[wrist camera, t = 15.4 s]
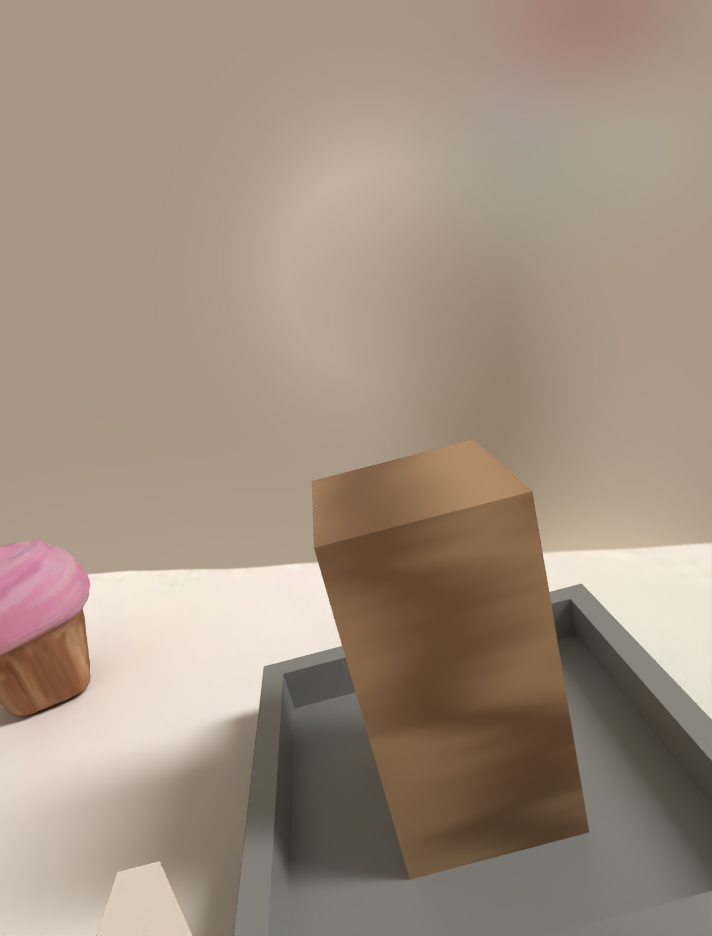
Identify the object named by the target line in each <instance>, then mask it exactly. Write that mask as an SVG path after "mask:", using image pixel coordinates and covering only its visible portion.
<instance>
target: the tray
mask: <svg viewBox="0 0 712 936" xmlns="http://www.w3.org/2000/svg"><path fill="white" fill-rule="evenodd" d="M549 594H550V600H551V606H552V612H553V618H554V624H555V630H556V636H557V642H558V648H559V654H560V660H561V666H562V672H563V678H564V684H565V689H566V695H567V701H568V707H569V713H570V719H571V725H572V731H573V737H574V743H575V749H576V755H577V761H578V767H579V773H580V779H581V785H582V791H583V797H584V803H585V808H586V814H587V820H588V826H589V833H585V834H582V835H578V836H574V837H570V838H566V839H563V840H559V841H555V842H551V843H548V844H544V845H540V846H536V847H532V848H529V849H525V850H521V851H517V852H513V853H510V854H506V855H502V856H498V857H495V858H491V859H487V860H483V861H479V862H476V863H472V864H468V865H464V866H460V867H457V868H453V869H449V870H445V871H442V872H438V873H434V874H430V875H426V876H423V877H419V878H415V879H411V880H410V879H409V876H408V872H407V869H406V865H405V862H404V858H403V855H402V851H401V848H400V844H399V841H398V837H397V834H396V830H395V827H394V823H393V820H392V817H391V813H390V810H389V806H388V803H387V799H386V796H385V792H384V789H383V785H382V782H381V778H380V775H379V771H378V768H377V764H376V761H375V757H374V754H373V751H372V747H371V744H370V740H369V737H368V733H367V730H366V726H365V723H364V719H363V716H362V712H361V709H360V705H359V702H358V698H357V695H356V691H355V688H354V685H353V681H352V678H351V674H350V671H349V667H348V664H347V660H346V657H345V653H344V650H343V646H341V647H337V648H333V649H329V650H326V651H322V652H318V653H314V654H310V655H306V656H303V657H299V658H295V659H291V660H287V661H283V662H280V663H276V664H272V665H268V666H264V670H263V679H262V688H261V697H260V705H259V714H258V723H257V732H256V741H255V750H254V759H253V768H252V777H251V786H250V795H249V804H248V812H247V821H246V830H245V839H244V848H243V857H242V866H241V875H240V884H239V893H238V902H237V911H236V919H235V928H234V936H712V720H711V719H710V718H709V717H708V715H707V714H706V713H705V712H704V711H703V710H702V709H701V708H700V707H699V706H698V705H697V704H696V703H695V702H694V701H693V700H692V699H691V698H690V697H689V696H688V695H687V693H686V692H685V691H684V690H683V689H682V688H681V687H680V686H679V685H678V684H677V683H676V682H675V681H674V680H673V679H672V678H671V677H670V676H669V675H668V674H667V673H666V672H665V670H664V669H663V668H662V667H661V666H660V665H659V664H658V663H657V662H656V661H655V660H654V659H653V658H652V657H651V656H650V655H649V654H648V653H647V652H646V651H645V650H644V648H643V647H642V646H641V645H640V644H639V643H638V642H637V641H636V640H635V639H634V638H633V637H632V636H631V635H630V634H629V633H628V632H627V631H626V630H625V629H624V628H623V627H622V625H621V624H620V623H619V622H618V621H617V620H616V619H615V618H614V617H613V616H612V615H611V614H610V613H609V612H608V611H607V610H606V609H605V608H604V607H603V606H602V605H601V603H600V602H599V601H598V600H597V599H596V598H595V597H594V596H593V595H592V594H591V593H590V592H589V591H588V590H587V589H586V588H585V587H584V586H583V585H582V584H579V585H575V586H571V587H567V588H563V589H560V590H556V591H552V592H549Z"/></svg>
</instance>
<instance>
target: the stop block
mask: <svg viewBox="0 0 712 936" xmlns="http://www.w3.org/2000/svg"><path fill="white" fill-rule="evenodd" d="M312 498H313V528H314V549H315V553H316V556H317V559H318V563H319V566H320V570H321V573H322V577H323V580H324V584H325V587H326V591H327V594H328V598H329V601H330V605H331V608H332V612H333V615H334V619H335V622H336V625H337V629H338V632H339V636H340V639H341V643H342V646H343V650H344V653H345V657H346V660H347V664H348V667H349V671H350V674H351V678H352V681H353V685H354V688H355V691H356V695H357V698H358V702H359V705H360V709H361V712H362V716H363V719H364V723H365V726H366V730H367V733H368V737H369V740H370V744H371V747H372V751H373V754H374V757H375V761H376V764H377V768H378V771H379V775H380V778H381V782H382V785H383V789H384V792H385V796H386V799H387V803H388V806H389V810H390V813H391V817H392V820H393V823H394V827H395V830H396V834H397V837H398V841H399V844H400V848H401V851H402V855H403V858H404V862H405V865H406V869H407V872H408V876H409V879H410V880H411V879H415V878H419V877H423V876H426V875H430V874H434V873H438V872H442V871H445V870H449V869H453V868H457V867H460V866H464V865H468V864H472V863H476V862H479V861H483V860H487V859H491V858H495V857H498V856H502V855H506V854H510V853H513V852H517V851H521V850H525V849H529V848H532V847H536V846H540V845H544V844H548V843H551V842H555V841H559V840H563V839H566V838H570V837H574V836H578V835H582V834H585V833H589V826H588V820H587V814H586V808H585V803H584V797H583V791H582V785H581V779H580V773H579V767H578V761H577V755H576V749H575V743H574V737H573V731H572V725H571V719H570V713H569V707H568V701H567V695H566V689H565V684H564V678H563V672H562V666H561V660H560V654H559V648H558V642H557V636H556V630H555V624H554V618H553V612H552V606H551V600H550V594H549V588H548V582H547V576H546V570H545V565H544V559H543V553H542V547H541V541H540V535H539V529H538V523H537V517H536V511H535V505H534V499H533V494H532V491H531V490H530V489H529V488H528V487H527V486H525V485H524V484H523V483H522V482H521V481H520V480H519V479H517V478H516V477H515V476H514V475H513V474H512V473H511V472H509V471H508V470H507V469H506V468H505V467H504V466H502V465H501V464H500V463H499V462H498V461H497V460H496V459H494V458H493V457H492V456H491V455H490V454H489V453H488V452H486V451H485V450H484V449H483V448H482V447H481V446H479V445H478V444H477V443H476V442H475V441H474V440H470V441H466V442H462V443H458V444H454V445H450V446H447V447H443V448H439V449H435V450H431V451H427V452H423V453H420V454H416V455H412V456H408V457H404V458H400V459H396V460H392V461H388V462H385V463H381V464H377V465H373V466H369V467H365V468H361V469H357V470H353V471H350V472H346V473H342V474H338V475H334V476H330V477H326V478H322V479H319V480H315V481H312Z"/></svg>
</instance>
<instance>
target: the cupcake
mask: <svg viewBox="0 0 712 936" xmlns="http://www.w3.org/2000/svg"><path fill="white" fill-rule="evenodd" d="M89 588H90V581H89V578H88V575H87V573H86V572H85V571H84V570H83V568H82V567H81V566H80V565H79V563H78V562H77V561H76V559H75V558H74V557H73V556H71V555H70V554H69V553H68V552H67V551H65V550H63V549H62V548H60V547H57V546H53V545H48V544H47V543H46V542H44V541H41V540H32V541H23V542H18V543H12V544H8V545H3V546H0V704H1V705H2V706H3V707H4V708H5V709H6V710H7V711H8V712H9V713H11V714H14V715H17V716H26V715H31V714H34V713H36V712H38V711H40V710H43V709H45V708H47V707H50V706H52V705H54V704H57V703H59V702H62V701H65V700H67V699H69V698H71V697H73V696H75V695H77V694H79V693H81V692H82V691H84V690H85V689H86V687H87V686H88V684H89V683H90V661H89V653H88V645H87V636H86V626H85V618H84V613H83V609H82V608H83V606H84V605H85V603H86V601H87V600H88V596H89Z"/></svg>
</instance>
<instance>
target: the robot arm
mask: <svg viewBox="0 0 712 936" xmlns="http://www.w3.org/2000/svg"><path fill="white" fill-rule="evenodd" d="M96 936H192V933H191V931H190V929H189V927H188V924H187V922H186V920H185V917H184V915H183V913H182V911H181V908H180V906H179V904H178V902H177V899H176V897H175V895H174V892H173V890H172V888H171V886H170V883H169V881H168V879H167V877H166V874H165V872H164V870H163V868H162V865H161V863H160V861H158V862H154V863H150V864H146V865H143V866H139V867H135V868H131V869H127V870H123V871H120V872H117V874H116V877H115V880H114V883H113V887H112V890H111V893H110V896H109V899H108V902H107V905H106V908H105V911H104V914H103V917H102V920H101V923H100V926H99V929H98V932H97V935H96Z"/></svg>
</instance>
